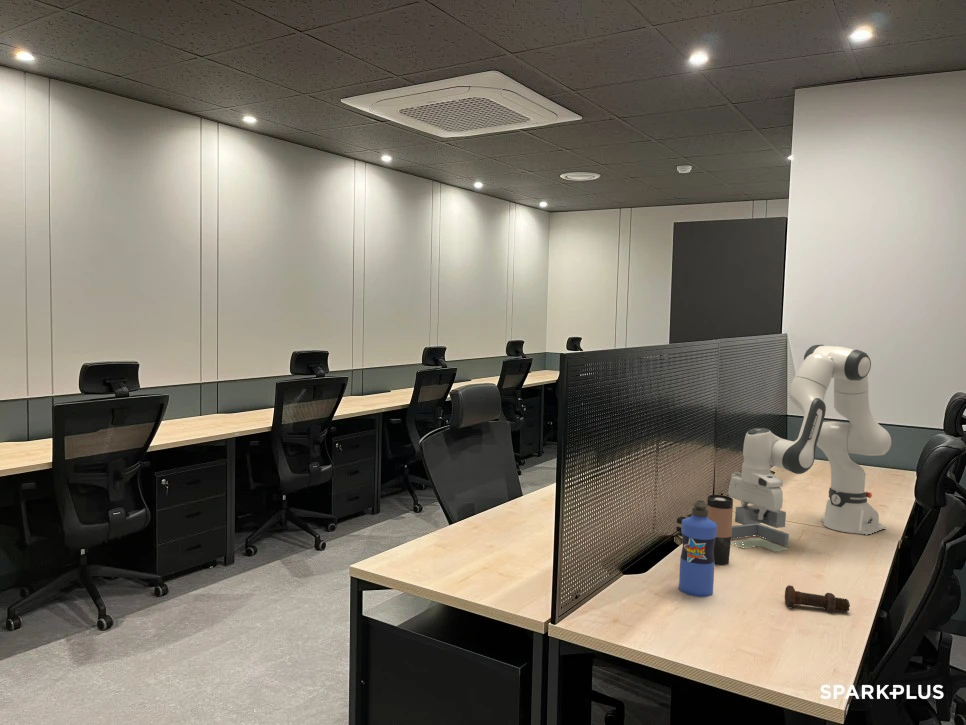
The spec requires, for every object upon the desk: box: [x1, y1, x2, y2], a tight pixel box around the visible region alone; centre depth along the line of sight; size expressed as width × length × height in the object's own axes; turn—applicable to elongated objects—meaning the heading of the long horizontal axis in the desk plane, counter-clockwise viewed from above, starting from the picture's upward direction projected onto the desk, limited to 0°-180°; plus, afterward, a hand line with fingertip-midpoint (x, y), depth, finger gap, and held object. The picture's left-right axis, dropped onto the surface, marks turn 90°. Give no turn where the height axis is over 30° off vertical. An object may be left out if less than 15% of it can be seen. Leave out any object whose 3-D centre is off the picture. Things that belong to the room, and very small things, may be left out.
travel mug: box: [706, 494, 734, 566], centre depth 214 cm, size 8×8×20 cm
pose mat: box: [731, 537, 789, 553], centre depth 230 cm, size 14×12×1 cm
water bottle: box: [678, 500, 717, 598], centre depth 189 cm, size 9×9×25 cm
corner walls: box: [731, 523, 790, 547], centre depth 234 cm, size 18×14×4 cm
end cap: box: [675, 513, 693, 538], centre depth 240 cm, size 10×7×7 cm
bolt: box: [784, 584, 851, 613], centre depth 180 cm, size 6×5×15 cm
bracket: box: [734, 504, 787, 529], centre depth 229 cm, size 10×12×5 cm
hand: (752, 517), depth 232 cm, fingers closed on bracket, 4 cm apart
